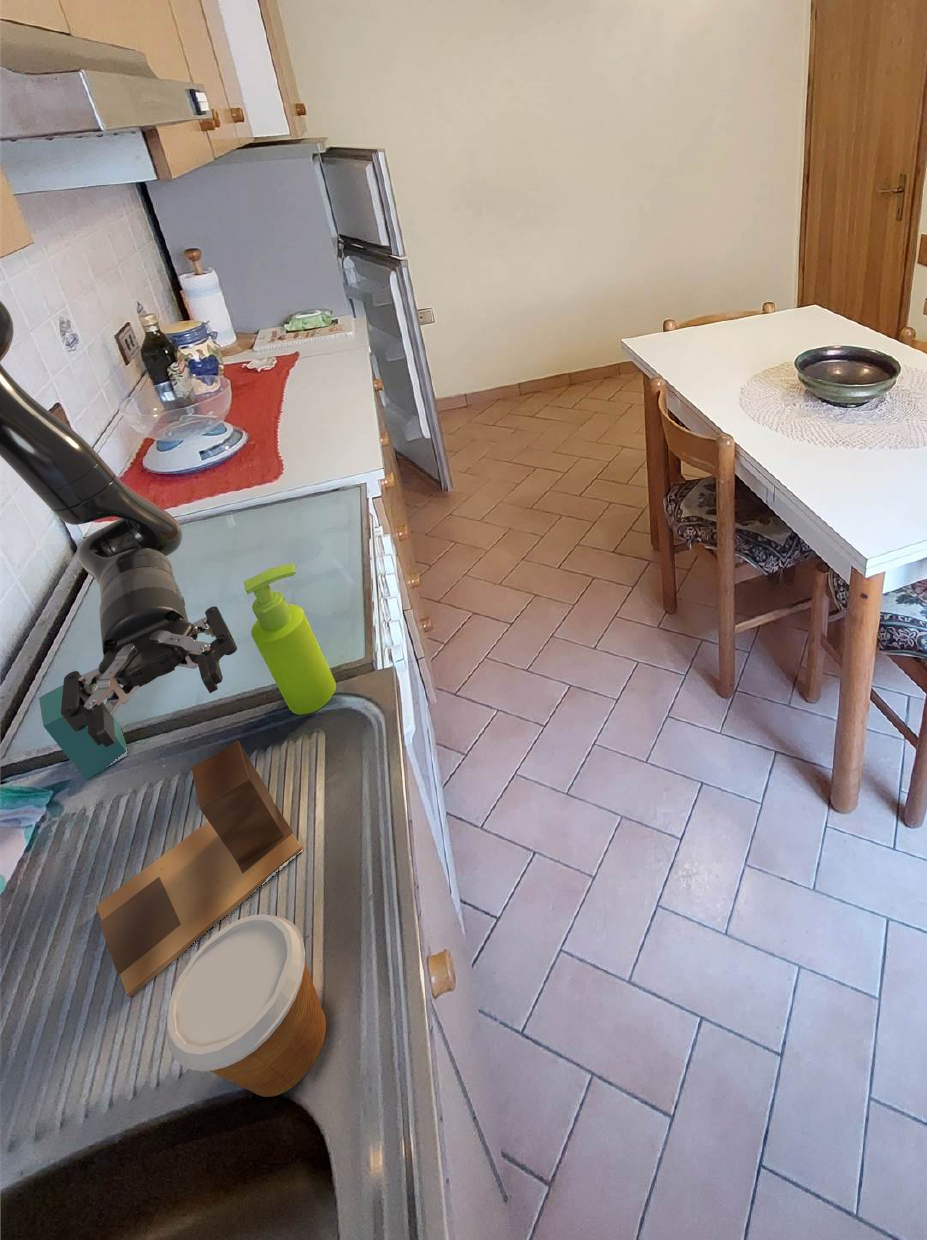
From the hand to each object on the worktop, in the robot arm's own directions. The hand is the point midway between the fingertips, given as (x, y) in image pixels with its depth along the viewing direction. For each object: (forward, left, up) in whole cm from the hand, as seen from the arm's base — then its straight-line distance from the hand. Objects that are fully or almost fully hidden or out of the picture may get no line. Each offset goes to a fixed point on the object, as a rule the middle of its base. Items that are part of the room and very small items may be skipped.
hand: (160, 711), depth 64 cm
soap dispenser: (+14, +11, -20) cm, 27 cm away
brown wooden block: (+1, -2, -19) cm, 19 cm away
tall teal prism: (-7, +24, -20) cm, 32 cm away
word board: (-4, -2, -20) cm, 21 cm away
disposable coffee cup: (-4, -22, -20) cm, 30 cm away
